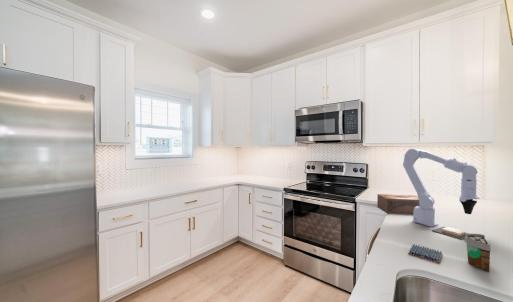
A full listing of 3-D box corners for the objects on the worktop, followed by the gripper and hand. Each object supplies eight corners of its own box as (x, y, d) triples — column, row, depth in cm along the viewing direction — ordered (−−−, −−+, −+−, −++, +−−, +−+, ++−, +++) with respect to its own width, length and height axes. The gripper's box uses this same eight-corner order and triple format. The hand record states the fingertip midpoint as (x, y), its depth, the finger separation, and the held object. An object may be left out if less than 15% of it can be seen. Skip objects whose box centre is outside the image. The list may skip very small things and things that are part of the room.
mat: (432, 231, 114) (432, 230, 114) (443, 227, 120) (443, 226, 120) (461, 239, 104) (461, 238, 104) (472, 235, 109) (472, 234, 109)
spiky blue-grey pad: (443, 255, 89) (443, 250, 89) (440, 265, 81) (440, 260, 81) (412, 247, 96) (412, 242, 96) (407, 255, 89) (407, 250, 89)
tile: (447, 230, 114) (441, 232, 112) (447, 226, 114) (442, 228, 112) (465, 235, 108) (459, 237, 105) (465, 231, 108) (459, 233, 105)
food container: (462, 255, 89) (462, 230, 88) (483, 260, 85) (484, 234, 85) (465, 267, 79) (466, 240, 79) (490, 274, 75) (490, 245, 75)
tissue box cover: (386, 213, 146) (386, 198, 146) (377, 207, 160) (377, 194, 160) (428, 215, 143) (428, 200, 143) (414, 209, 157) (415, 195, 157)
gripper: (472, 190, 107) (472, 217, 107) (485, 188, 113) (484, 214, 114) (454, 188, 113) (453, 213, 113) (467, 186, 120) (466, 210, 120)
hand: (468, 213), depth 114 cm, fingers closed
